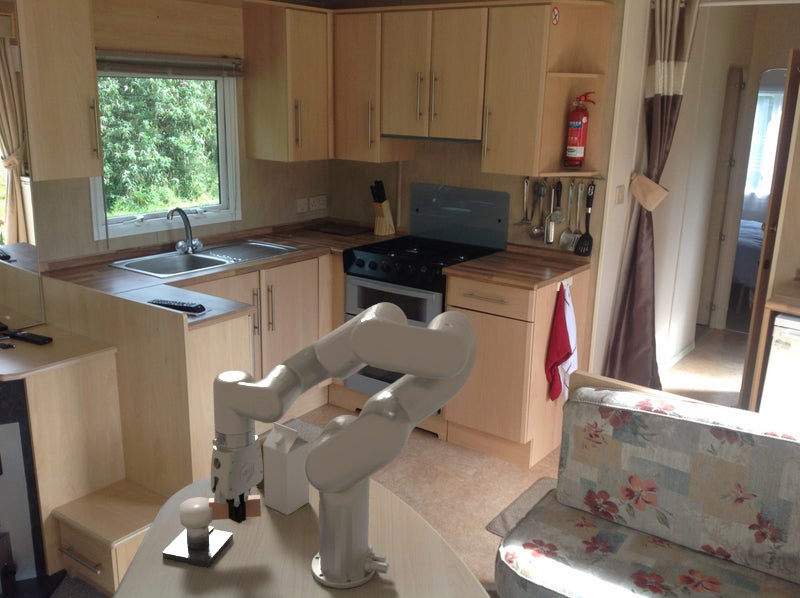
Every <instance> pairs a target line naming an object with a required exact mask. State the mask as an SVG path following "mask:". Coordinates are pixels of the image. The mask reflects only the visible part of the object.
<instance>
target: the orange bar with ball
mask: <svg viewBox="0 0 800 598" xmlns="http://www.w3.org/2000/svg"><path fill="white" fill-rule="evenodd" d="M214 498H215V497H209V498H207V497H203V496H197V497H191V498H188V499H186V500H184V501H183V502H181V504H180V505H179V519H180V522H179V523H180V524H181V525H182V526H183V527H185V528H186V527H187V528H200V527H204V526H206V525H208V524H211V523H212V521H216V520H217V521H218V520H230V519H229V511H228V503H227V502H226V503H224V504H220V505H219V504H217V503H215V502H214ZM245 503H246V518H256V517H257V518H258V517H261V516H262V514H261V513H262V511H261V510H262V509H261V507H262V506H261V494H249V497H248V500H247V501H246V502H245Z"/></svg>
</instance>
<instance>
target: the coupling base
mask: <svg viewBox="0 0 800 598" xmlns="http://www.w3.org/2000/svg"><path fill="white" fill-rule="evenodd" d="M209 524H210V523H209ZM209 524H208V525H206V526H204V527H200V528H187V527H185V529H184V530H183V531H182V532H180V533H179V535H178V536H177V537H176V538H175V539H174V540H173V541H172V542H170V544H169V545H168V546H167V547H166V548H165V549H164V550H163V551H162V559H163V560H166V559H167V561H171V560H172V562H175V563H176V562H177V563H180V562H181V563H182V564H186V565H191V566H196V567H200V568H204V569H209V568H210V567H211V566H212V565H213V564H214V562H215V561H216V560H217V559H218V558H219V557H220V555H221V554H222V553H223V552H224V551H225V549H226V548H227V547H228V546H229V545H230V543H232V541H233V540H234V534H233V533H232V532H228V531H223V530H218V529H215V528H214V526H210V525H209Z"/></svg>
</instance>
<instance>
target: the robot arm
mask: <svg viewBox="0 0 800 598" xmlns="http://www.w3.org/2000/svg"><path fill="white" fill-rule="evenodd" d="M477 353H478V338H477V333H476V329H475V325H474V324H473V322H472V321H471V319H470V318H469V317H468V316H467V315H466V314H464V313H462V312H460V311H456V310H449V311H445V312H442V313H440V314H438V315H436V316H435V317H434V318H433V319H432V320H431V321H430V322H429V324H428V325H427V326H426V327H421V326H416V325H411V324H409V322H408V318H407V315H406V314H405V312H404V311H403V309H402V308H401V307H399V306H398V305H396V304H394V303H391V302H387V301H386V302H384V301H383V302H378V303H377V304H374V305H372V306H370V307H368V308H366V309H365V310H363V311H361V313H358V314H357V315H355V316H354V317H352V318H351V319H349V320H348V321H346V322H345V323H343V324H342V325H340V326H339V327H336V328H335V329H334V330H332V331H331V332H328V333H327V334H326V335H325V336H322V337H321V338H320V339H317V340H316V341H313V343H311V344H309V345H307V346H305V347H304V348H302V349H300V350H299V351H297V352H295V353H294V354H293V355H291V356H289V357H287V358H286V359H284V360H283V361H281V362H279V364H277V365H275V366H274V367H272V369H270V370H269V371H268V372H267V373H266V374H265V375H263V377H262V378H261V379H260V380H258V381H255V379H254V377H253V376H252V374H251V373H248V372H246V371H243V370H228V371H227V370H226V371H223V372H220V373H219V374H217V375H216V376H215V378H214V379H213V383H212V384H213V385H212V386H213V388H212V390H213V391H212V393H213V418H214V439H213V440H212V445H213V449H212V455H211V463H210V488H211V493H212V494H214V497H213V498H214V502H215V503H217V504H219V505H220V504H224V503H226V502H227V503H228V511H229V519H228V520H231V521H233V522H235V523H236V524H237V523H238V525H239V524H241V523H242V522H244V521H246V520H247V517H246V503H245V502H246V501H247V500H248V497H249V495H250V491H251V490H252V488H254V487H257V486H256V485H257V484H259V483H260V482H261V481H262V479H263V462H262V453H261V447H260V443H259V440H260V439H259V436H258V435H257V434H256V422H260V423H265V424H274V422H275V423H277V422H279V421H281V420H282V419H283V417H284V416H285V415H286V413H287V412H288V411H289V409H291V407H292V406H293V405H294V403H295V402H296V401H297V399H298V398H299V397H300V396H302V395H303V394H304V393H306V392H307V391H310V390H311V389H312V388H314V387H316V386H317V385H319V384H321V383H322V382H324V381H326V380H330V379H331V378H332V379H335V380H337V381H343V380H344V381H345V380H346V379H348V378H349V377H351V376H353V375H354V374H356V373H358V372H359V371H361V370H362V369H364V368H365V367H367V366H370V367H373V368H377V369H380V370H383V371H390V372H393V373H400V374H403V375H402V377H399V378H398V379H397V380H395V381H394V382H393V383H391V384H389V385H388V386H387V387H385V388H383V389H382V390H380V391H378V392H377V393H375V394H374V395H372V396H371V397H370V398H368V400H367V401H366V403H365V404H364V406H363V407H362V408H361V411H360V413H359V415H358V416H355V415H352V414H342V415H339V416H336V417H334V418H333V419H331V420H330V421H329V422H328V423H327V424H326V425H325V426H324V428H322V430H321V432H320V434H319V435H318V437H317V438H316V441H315V442H314V444H313V446H312V447H311V449H309V454H308V456H307V459H306V464H305V471H306V476H307V478H308V481H309V485H311V486H312V487H313V488H314V489H316V490H317V491H318V552H317V553H316V554H315V555H314V556H313V558H312V559H311V563H310V570H311V574H312V576H313V578H314V579H315V580H316V581H317V582H319V583H320V584H321V585H323V586H326V587H329V588H333V589H348V588H349V589H351V588H355V587H359V586H361V585H363V584H365V583H366V582H368V581H369V580H370V579H372V578H373V576H374V575H375V573H376V572H377V573H381V574H386V575H388V572H389V566H390V565H389V563H388V562H386V561H387V556H386V555H381V554H376V553H375V552H373V551H374V550H373V544H371V543H369V524H370V523H369V522H370V521H369V517H370V516H369V515H370V513H369V512H370V511H369V510H370V509H369V508H370V481H371V476H373V475H375V474H376V473H377V472H379V471H381V470H382V469H384V468H386V467H387V466H389V465H390V464H392V462H393V461H394V460H396V459H397V458H398V457H399V456H400V455H401V454H402V452H403V451H404V449H406V446H407V443H408V441H409V438H410V435H411V433H412V432H413V430H414V428H416V427H417V426H418V425H419V424H420V423H421V422H423V421H425V420H427V419H428V418H429V417H430V416H432V415H433V414H435V413H436V412H437V411H439V410H440V409H441V408H443V407H444V406H445V405H447V404H448V403H449V402H450V401H452V400H453V399H454V398H455V397H456V396H457V395H458V394H459V392H460V391H462V389H463V388H464V386H465V385H466V383H467V381H468V380H469V378H470V376H471V373H472V372H473V369H474V366H475V363H476V360H477Z"/></svg>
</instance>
